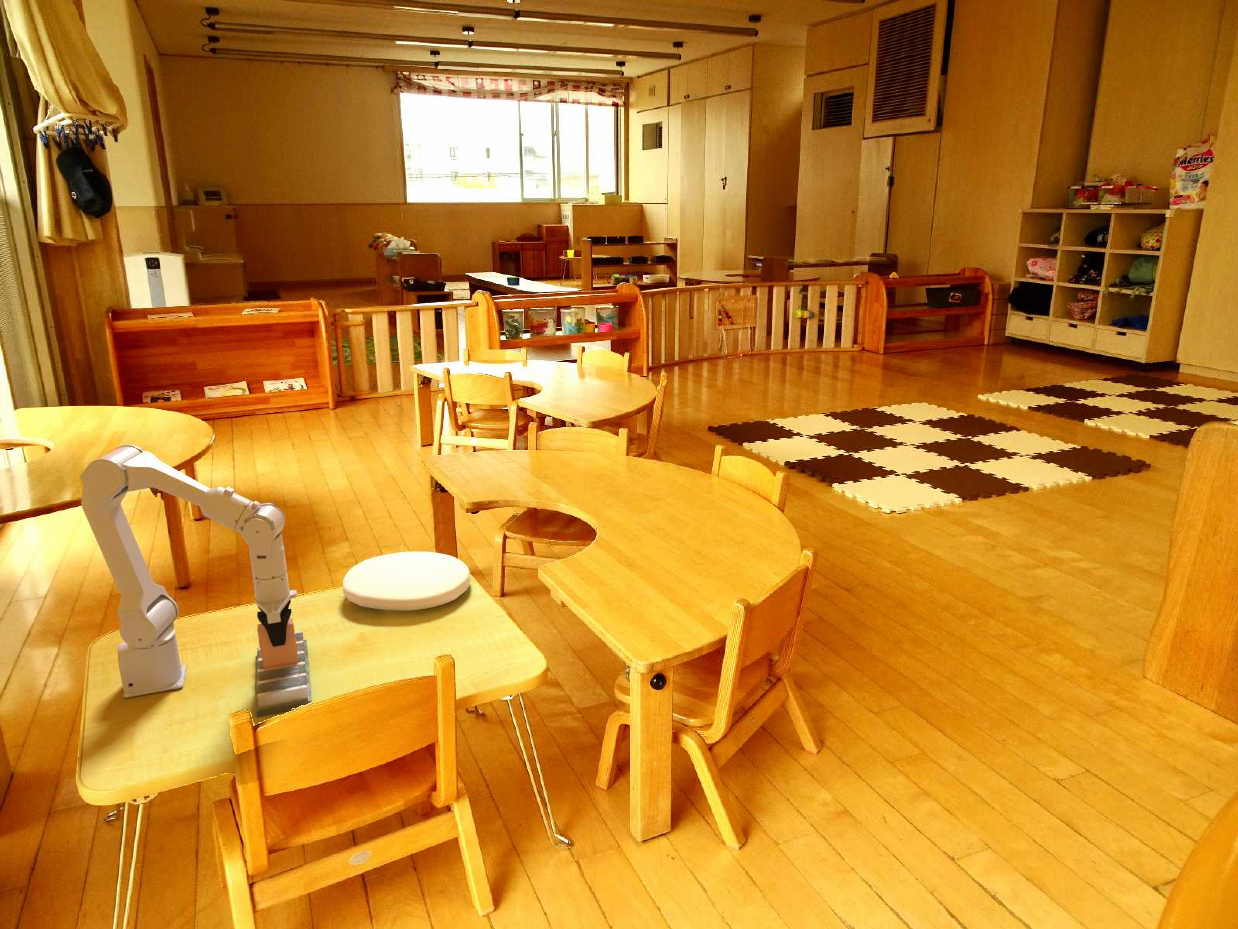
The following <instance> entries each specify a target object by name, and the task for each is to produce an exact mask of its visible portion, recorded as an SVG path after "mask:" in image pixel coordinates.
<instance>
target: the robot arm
mask: <svg viewBox="0 0 1238 929" xmlns="http://www.w3.org/2000/svg"><path fill="white" fill-rule="evenodd" d="M79 479H80V480H81V483H82V490H81V492H82V493H81V500H80V503H81V504H80V505H81V508H82V511H83V513H84V515H85V517H86V519H87V522H88V524H89V526H90V528H91V531H92V533H93V535H94V537H95V539H96V542H97V545H98V547H99V549H100V551H101V554H102V556H103V559H104V560H105V563H106V565H107V567H108V569H109V572H110V574H111V577H112V579H113V581H114V583H115V586H116V588H117V590H118V592H119V594H120V600H119V604H118V608H117V614H116V615H117V618H118V619H119V624H120V625H119V634H120V637H121V639H122V640H123V641H122V642H120V643H119V644H118V646H117V663H118V669H119V674H120V675H119V676H120V679H121V686H122V689H123V698H132V697H138V696H143V695H149V694H153V693H160V692H165V691H169V690H177V689H181V688H184V682H185V679H186V678H185V677H186V673H187V672H186V671H187V664H181V659H180V653H179V646H178V641H177V636H176V630H175V623H174V622H175V621H176V619H178V616H179V613H180V611H179V610H180V609H179V606H178V604H177V602H176V601H175V600H174V599H173V598H172V597H171V596H170V595H169V594H168V593H167V592H168V591H166V588H165V586H163V585H160V584H157V583H155V582H154V580H153V577H152V575H151V573H150V571H149V568H148V565H147V563H146V561H145V559H144V556H143V554H142V551H141V549H140V547H139V544H138V542H137V539H136V537H135V535H134V533H133V530H132V528H131V525H130V523H129V520H128V518H127V516H126V514H125V513H126V512H125V511H124V509H123V507H122V501H123V500H124V499H125V497H126V495H127V493H128V492H134V491H135V492H136V491H141V490H147V489H151V488H155V489H157V490H159V491H162V492H163V493H166V494H169V495H171V496H174V497H176V498H179V499H181V500H183V501H186V502H188V503H191V504H193V505H196V506H198V507H199V508H200V512H201V513H202V515H203V517H206V518H208V519H209V520H212V521H214V522H216V523H218V524H220V525H223V526H225V527H227V528H229V529H231V530H233V531H236V532H237V533H239V534H240V536H241V538H242V540H243V542H245V543H246V544H247V545H248V551H249V559H250V567H251V574H252V583H253V588H254V590H253V591H254V602H255V605H256V606H257V608H258V609H259V611H257V612H256V613H257V614H256V617H257V620H258V622H259V623H260V624H262V625H263V626H264V627H265V629H266V631H267V633H268V636H269V639H270V642H271V644H272V646H273V647H276V646H282V645H285V642H286V630H287V624H288V620H289V618H291V616H292V608H289V607H290V605H291V602H292V599H295V598H297V597H298V592H297V589H291V590H290V584H289V577H288V576H289V575H288V569H287V560H286V552H285V545H284V538H283V533H282V530H283V529H284V527H285V524H286V516H285V513H284V512H283V511H282V509H280V508H279V507H278V506H276V505H275V504H274V503H270V502H264V503H261V502H259V501H257V500H255V501H252V500H250V499H249V498H246V497H244V496H243V495H239V494H238V493H236V492H235V490H236V489H234V488H232V487H230V486H226V488H225V487H223V486H217V487H211V488H210V487H208V486H206V485H204V484H202V483H200V482H199V481H198V480H196V479H193V478H192V477H191V476H188V475H186V474H185V473H183V472H180V471H179V470H177V469H175V468H173V467H171V466H170V465H168V464H166V463H165V462H162V461H161V460H160V459H159V458H158V457H157V456H156V455H155V454H154V453H152V452H150V451H147V450H143V448H141V447H139V446H137V445H134V444H123V445H122V444H121V445H119V446H118V447H117V448H116V449H114V450H112V451H111V452H109V453H107V454H105V455H103V456H102V457H99V458H97V459H95V460H93V461H91V462H89V464H88V465H87V466H86V468H85V469H84V470H83V471H82V473H81V475H80V476H79Z"/></svg>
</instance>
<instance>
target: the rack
mask: <svg viewBox="0 0 1238 929" xmlns="http://www.w3.org/2000/svg"><path fill="white" fill-rule="evenodd" d="M295 637H296V643H297V650H298V656H299V663H294V664H289V665H283V666H277V667H272V668H266V669H264V667H263V661H262V655H261V649H260V643H259V642H258V646H259V647H257V648H256V649H257V650H256V685H255V686H256V689H255V690H256V692H255V693H256V695H255V715H256V718H260V717H261V718H262V717H265V716H270V715H274V714H275V715H276V714H281V713H284V712H289V711H288V710H291V709H292V708H297V707H299V706H301V705H306V704H308V703H310V702H312V703H313V698H312V689H311V688H312V687H311V679H310V678H311V677H310V676H311V675H310V665H309V654H308V644H307V639H304V633H303V630H299V631H295ZM291 711H292V710H291Z"/></svg>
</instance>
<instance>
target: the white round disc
mask: <svg viewBox="0 0 1238 929" xmlns="http://www.w3.org/2000/svg"><path fill="white" fill-rule="evenodd" d="M469 575H470V576H469ZM471 577H472V576H471V572H470V569H469V567H468V565H467V564H465V562H463V561H462V560H461V559H459V558H457V557H455V556H452V555H449V554H444V553H441V552H440V553H439V552H433V551H432V552H431V551H402V552H400V551H399V552H395V553H389V554H382V555H379V556H373V557H371V558H368V559H364V560H363V561H361V562H359V563H357V564H356V565H354V566H353V567H351V568H350V569H349V570H348V571H347V573H346V574H345V575H344V577H343V581H342V593H343V595H344V597H345V598H346V599H347V600H348V601H349V602H352V603H353V604H355V605H357V606H359V607H363V608H364V607H365V608H370V609H377V610H385V611H418V610H425V609H430V608H434V607H437V606H438V607H439V606H442V605H445V604H447V603H450V602H452V601H453V602H454V601H455V600H457V599H458V598H459V597H460V596H461V595H462V594H463V593H465V592H466V591H467V590H468V588H469V587H470V585H471Z"/></svg>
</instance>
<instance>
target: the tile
mask: <svg viewBox="0 0 1238 929" xmlns="http://www.w3.org/2000/svg"><path fill="white" fill-rule="evenodd" d="M256 631H257V637H258V644H259V643H260V647H259V648H260V649H261V655H262V661H263V667H264V669H266V668H272V667H277V666H283V665H289V664H294V663H299V656H298V650H297V643H296V637H295V632H296V631H295V624H294V618H293V617H290V618H289V620H288V624H287V630H286V642H285V645H282V646H276V647H273V646H272V644H271V642H270V639H269V636H268V633H267V631H266V629H265V627H264V626H263V625H262V623H258V624H257V629H256Z"/></svg>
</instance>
